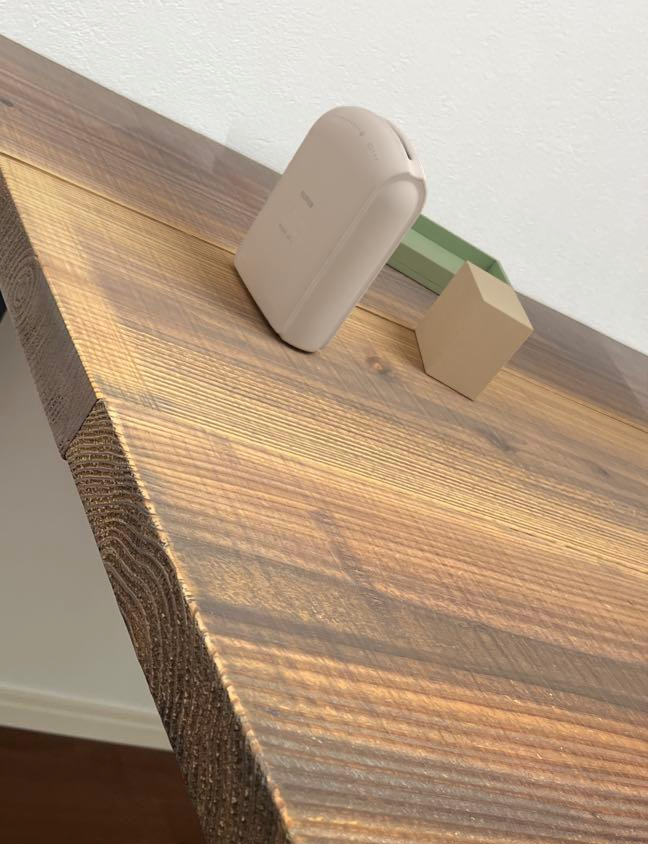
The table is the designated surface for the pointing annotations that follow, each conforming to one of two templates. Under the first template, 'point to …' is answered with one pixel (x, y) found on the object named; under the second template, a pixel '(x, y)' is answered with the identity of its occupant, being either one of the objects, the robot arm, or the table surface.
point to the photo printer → (331, 224)
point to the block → (471, 331)
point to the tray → (439, 256)
